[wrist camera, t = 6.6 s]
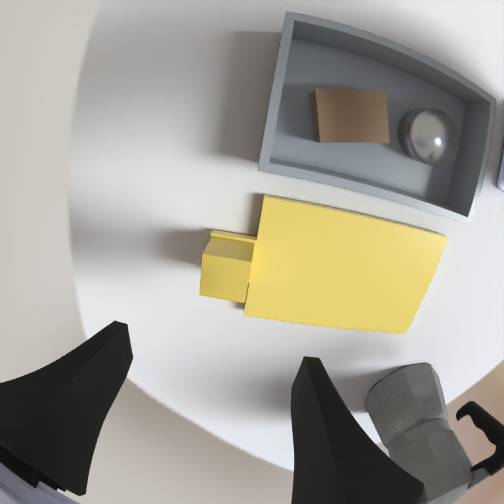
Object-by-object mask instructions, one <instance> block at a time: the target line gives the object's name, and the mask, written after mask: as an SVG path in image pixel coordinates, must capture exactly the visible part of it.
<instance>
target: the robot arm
mask: <svg viewBox="0 0 504 504" xmlns="http://www.w3.org/2000/svg"><path fill="white" fill-rule="evenodd" d="M497 185H498V188H499V189H501V190H502V191H504V151H503V157H502V163H501V168H500V173H499V177H498V182H497ZM132 360H133V354H132V349H131V343H130V338H129V332H128V325H127V324H125V323H121V322H118V321H114V322H112V323H111V324H109V325H108V326H106V327H105V328H104V329H102V330H101V331H99V332H98V333H97V334H95V335H94V336H93V337H91V338H90V339H88V340H87V341H85V342H84V343H83V344H81V345H80V346H78V347H77V348H75V349H74V350H72V351H71V352H69V353H67V354H66V355H65V356H63V357H61V358H60V359H58V360H56V361H54V362H53V363H51V364H49V365H47V366H45V367H43V368H41V369H39V370H37V371H34V372H32V373H29V374H27V375H24V376H22V377H19V378H16V379H13V380H10V381H6V382H3V383H0V504H79V503H78V502H76V501H74V500H72V499H70V498H68V497H66V496H64V495H63V494H61V493H59V492H57V488H59V489H60V490H62V491H66V490H68V491H70V492H72V493H74V494H76V495H78V496H81V495H84V494H86V488H87V481H88V475H89V470H90V466H91V461H92V457H93V453H94V449H95V446H96V443H97V439H98V436H99V433H100V430H101V427H102V425H103V422H104V420H105V418H106V415H107V413H108V411H109V409H110V407H111V406H112V403H113V402H114V400H115V398H116V396H117V394H118V392H119V390H120V388H121V386H122V384H123V382H124V380H125V378H126V376H127V373H128V371H129V368H130V365H131V362H132ZM291 419H292V432H293V444H294V479H293V492H292V502H291V504H427V503H428V499H427V494H426V490H425V486H424V483H423V482H421V481H420V480H418V479H417V478H415V477H414V476H412V475H411V474H409V473H408V472H406V471H405V470H403V469H402V468H401V467H400V466H399V465H397V464H396V463H395V462H394V461H392V460H391V459H390V458H389V457H388V456H387V455H386V454H385V453H384V452H383V451H382V450H381V449H380V448H379V447H378V446H377V445H376V444H375V443H374V442H373V441H372V440H371V439H370V437H369V436H368V435H367V434H366V433H365V432H364V430H363V429H362V428H361V427H360V425H359V424H358V423H357V421H356V420H355V418H354V417H353V416H352V414H351V413H350V411H349V410H348V408H347V407H346V405H345V403H344V402H343V400H342V399H341V397H340V395H339V394H338V392H337V390H336V388H335V387H334V385H333V383H332V381H331V379H330V378H329V376H328V374H327V372H326V370H325V368H324V366H323V364H322V362H321V360H320V359H319V358H315V357H305V356H304V358H303V361H302V363H301V366H300V368H299V371H298V373H297V376H296V378H295V381H294V383H293V386H292V392H291Z"/></svg>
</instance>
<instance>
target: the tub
mask: <svg viewBox="0 0 504 504" xmlns="http://www.w3.org/2000/svg"><path fill="white" fill-rule="evenodd" d="M319 88H325V89H359V90H374V91H385V92H386V100H387V112H388V126H389V143H318V142H314V135H313V123H312V112H311V102H310V93H311V92H312V91H313V90H314V89H319ZM495 104H496V99H495V98H493V97H492V96H491V95H489V94H488V93H486V92H485V91H484V90H482V89H481V88H479V87H478V86H476V85H475V84H473V83H472V82H470V81H469V80H467V79H465V78H464V77H462V76H461V75H459V74H457V73H456V72H454V71H452V70H450V69H449V68H447V67H445V66H443V65H441V64H440V63H438V62H436V61H434V60H432V59H430V58H428V57H426V56H424V55H422V54H420V53H418V52H416V51H414V50H411V49H409V48H407V47H405V46H402V45H400V44H398V43H395V42H393V41H390V40H388V39H385V38H383V37H380V36H377V35H375V34H372V33H369V32H366V31H363V30H360V29H357V28H354V27H351V26H347V25H344V24H340V23H337V22H333V21H329V20H325V19H321V18H317V17H313V16H308V15H303V14H298V13H292V12H287V11H286V14H285V20H284V25H283V30H282V36H281V41H280V47H279V52H278V58H277V63H276V69H275V74H274V80H273V85H272V91H271V97H270V102H269V108H268V113H267V119H266V125H265V131H264V136H263V142H262V148H261V154H260V159H259V165H258V171H261V172H267V173H272V174H278V175H283V176H288V177H293V178H298V179H303V180H308V181H313V182H317V183H322V184H327V185H331V186H335V187H340V188H344V189H348V190H352V191H356V192H360V193H364V194H368V195H372V196H375V197H379V198H383V199H386V200H390V201H393V202H397V203H400V204H404V205H407V206H411V207H414V208H417V209H420V210H424V211H427V212H430V213H433V214H436V215H439V216H442V217H445V218H448V219H451V220H454V221H457V222H459V223H462V224H465V225H468V226H471V223H472V220H473V217H474V214H475V210H476V207H477V203H478V200H479V196H480V192H481V188H482V184H483V180H484V176H485V171H486V167H487V162H488V157H489V151H490V145H491V139H492V132H493V124H494V115H495ZM418 109H439V110H441V111H443V112H445V113H446V114H448V115H449V116H450V118H451V119H452V120H453V122H454V123H455V125H456V128H457V131H458V135H459V148H458V152H457V154H456V156H455V158H454V159H453V161H452V162H451V163H450V164H448V165H446V166H444V167H434V166H431V165H427V164H424V163H421V162H417V161H414V160H412V159H411V158H410V157H408V156H407V155H406V154H405V152H404V151H403V149H402V147H401V145H400V142H399V138H398V127H399V123H400V121H401V119H402V117H403V116H404V115H405V114H406V113H407V112H409V111H411V110H418Z"/></svg>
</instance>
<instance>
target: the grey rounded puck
mask: <svg viewBox="0 0 504 504" xmlns="http://www.w3.org/2000/svg"><path fill="white" fill-rule="evenodd" d="M398 138H399V142H400V145H401V147H402V149H403V151H404V152H405V154H406V155H407V156H408V157H410V158H411V159H412V160H414V161H417V162H421V163H424V164H427V165H431V166H434V167H444V166H446V165H448V164H450V163H451V162H452V161H453V159H454V158H455V156H456V154H457V152H458V148H459V135H458V131H457V128H456V125H455V123H454V122H453V120H452V119H451V118H450V116H449V115H448V114H446V113H445V112H443V111H441V110H439V109H418V110H411V111H409V112H407V113H406V114H405V115H404V116H403V117H402V119H401V121H400V123H399V127H398Z"/></svg>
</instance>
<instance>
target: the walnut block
mask: <svg viewBox="0 0 504 504" xmlns="http://www.w3.org/2000/svg"><path fill="white" fill-rule="evenodd" d="M310 102H311V112H312V123H313V135H314V142H318V143H389V126H388V112H387V100H386V92H385V91H374V90H359V89H325V88H319V89H314V90H313V91H312V92H311V93H310Z"/></svg>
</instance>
